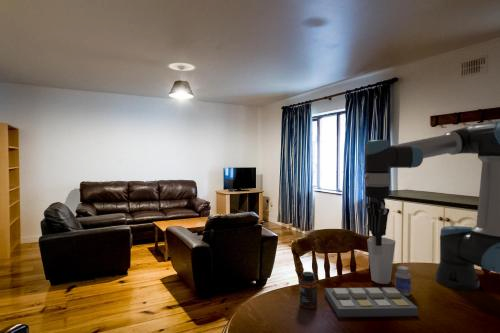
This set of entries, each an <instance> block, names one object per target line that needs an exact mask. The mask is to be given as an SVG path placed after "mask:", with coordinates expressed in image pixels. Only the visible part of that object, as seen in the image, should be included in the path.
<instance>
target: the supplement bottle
mask: <svg viewBox="0 0 500 333" xmlns="http://www.w3.org/2000/svg"><path fill="white" fill-rule="evenodd" d="M299 305H300V306H301V308H303V309H306V310H309V309H310V310H314V309H315V308H317V307H318V281H317V280H316V279H315V274H314V272H312V271H303V272H302V278H300V280H299Z"/></svg>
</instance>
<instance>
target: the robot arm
mask: <svg viewBox="0 0 500 333" xmlns="http://www.w3.org/2000/svg"><path fill="white" fill-rule="evenodd" d="M364 150H365V151H364V156H365V158H364V160H365V161H364V162H365V164H364V167H365V169H364V170H365V175H364V177H363V178H364V179H365V180H364V181H365V185H366V186H365V187H364V188H365V189H364V190H365V191H364V195H365V197H367V198H368V200H369V201H368V202H367V203H365V207H366V213H367V224H368V230H369V232H370V234H371V237H372V254H373V255H382V237H384V236H386V234H387V227H388V216H389V213H390V208H389V207H388V208H387V207H386V200H385V199H387V198H389V196H390V186H389V185H390V169H394V168H395V169H397V168H398V169H405V168H406V169H407V168H408V169H413V168H418V167H420V166H421V165H422V163H423V162H424V159H427V158H433V157H436V156H442V155H446V154H448V155H451V156H453V155H461V154H473V155H474V154H477V158H478V159H479V160H480V161H481V174H480V181H479V182H480V183H479V184H480V186H479V194H478V204H477V205H478V206H477V215H476V224H475V226H473V227H471V226H460V225H459V226H458V225H457V226H453V225H452V226H451V225H450V226H448V225H447V226H443V227H442V228H440V235H439V263H438V266H437V269H436V271H435V273H434V279H435V281H436V283H439V284H440V285H443V286H446V287H449V288H451V289H452V288H453V289H457V290H461V291H462V290H464V291H473V290H474V291H475V290H478V289H479V288H480V279H479V276H478V273H477V271H476V268H475V266H476V267H480V268H482V269H484V270H486V271H490V272H493V273H498V274H500V120H498V121H492V122H483V123H477V124H471V125H469V126H465V127H461V128H458V129H454V130H449V131H447V132H445V133H443V134H442V135H437V136H433V137H431V136H430V137H427V138H422V139H416V140H414V141H413V140H411V141H406V142H402V143H398V144H397V143H396V144H392V145H390V141H389V140H387V139H373V140H368V141H366V142H365V149H364Z"/></svg>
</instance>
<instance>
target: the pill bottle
mask: <svg viewBox="0 0 500 333" xmlns="http://www.w3.org/2000/svg"><path fill="white" fill-rule="evenodd" d="M409 272H410V268H409V267H407V266H404V265H398V266H397V267H396V271H395V274H394V283H395V284H394V285H395V286H394V288H395V289H396V290H398V291H399V292H400V293H401V294H402V295H403V296H404V297H408V296H410V295H411V294H412V275H411V274H410V273H409Z"/></svg>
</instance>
